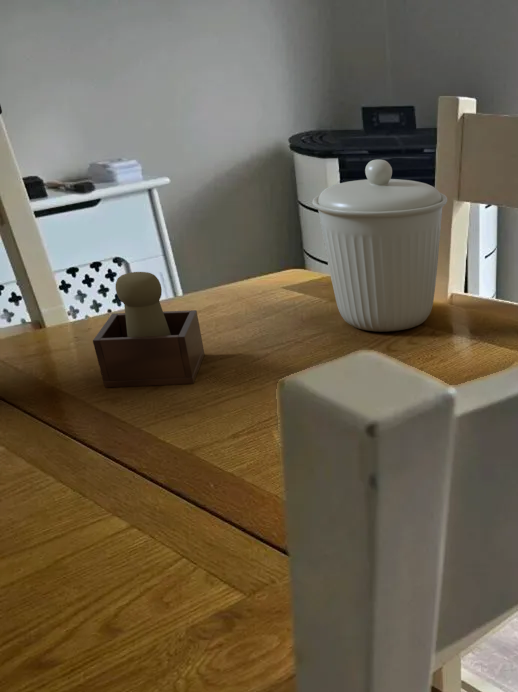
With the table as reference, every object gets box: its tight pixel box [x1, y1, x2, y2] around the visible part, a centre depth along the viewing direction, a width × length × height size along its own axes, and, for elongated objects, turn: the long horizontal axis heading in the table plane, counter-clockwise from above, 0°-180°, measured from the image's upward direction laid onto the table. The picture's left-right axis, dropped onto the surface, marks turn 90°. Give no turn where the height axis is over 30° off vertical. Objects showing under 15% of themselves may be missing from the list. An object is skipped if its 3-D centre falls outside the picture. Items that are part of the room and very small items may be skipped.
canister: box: [311, 159, 448, 333], centre depth 114 cm, size 18×18×21 cm
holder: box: [92, 309, 205, 389], centre depth 103 cm, size 11×11×6 cm
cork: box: [115, 271, 171, 337], centre depth 101 cm, size 6×6×11 cm
